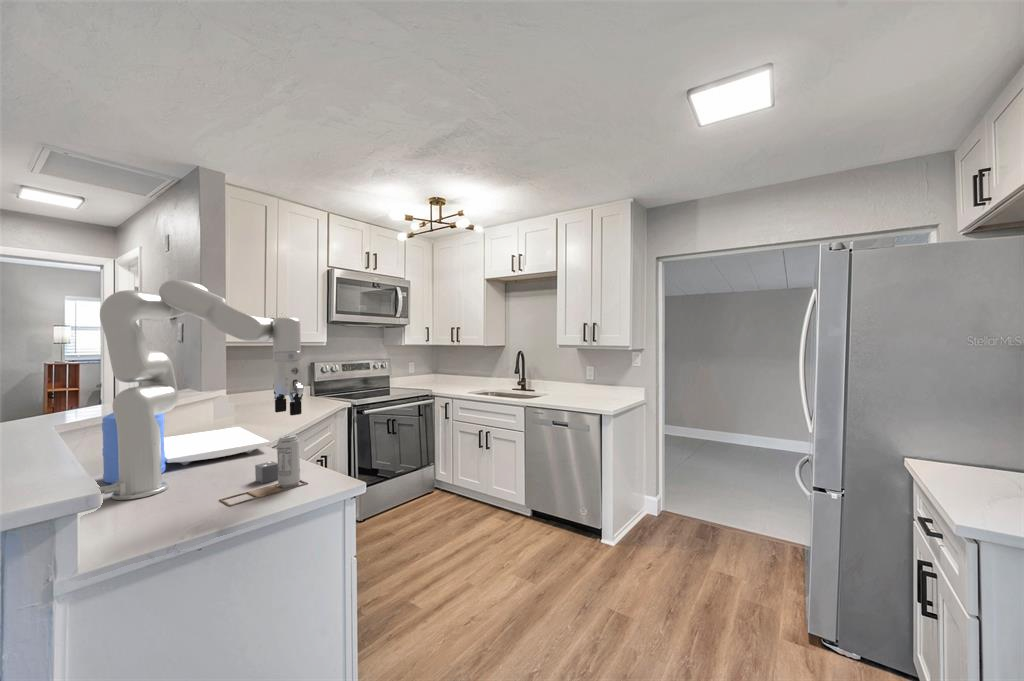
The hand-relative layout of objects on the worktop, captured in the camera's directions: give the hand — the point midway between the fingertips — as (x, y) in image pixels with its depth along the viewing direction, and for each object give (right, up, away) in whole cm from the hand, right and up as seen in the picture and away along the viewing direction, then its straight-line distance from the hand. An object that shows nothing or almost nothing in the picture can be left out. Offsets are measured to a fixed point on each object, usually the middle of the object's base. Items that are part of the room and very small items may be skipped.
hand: (288, 413), depth 130 cm
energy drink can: (0, -22, 0) cm, 22 cm away
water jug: (-57, -23, +11) cm, 63 cm away
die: (-9, -22, +5) cm, 25 cm away
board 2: (-4, -22, -6) cm, 23 cm away
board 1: (-56, -24, +43) cm, 75 cm away
